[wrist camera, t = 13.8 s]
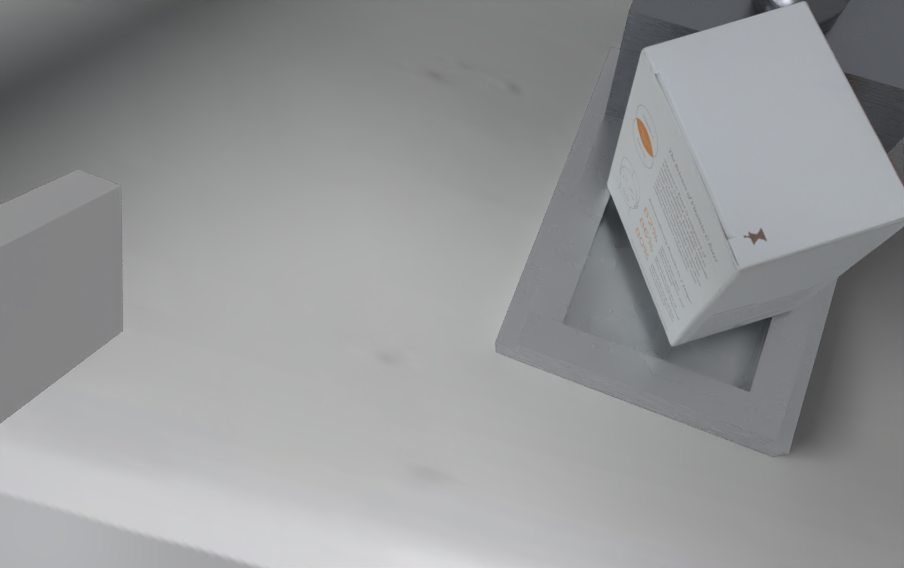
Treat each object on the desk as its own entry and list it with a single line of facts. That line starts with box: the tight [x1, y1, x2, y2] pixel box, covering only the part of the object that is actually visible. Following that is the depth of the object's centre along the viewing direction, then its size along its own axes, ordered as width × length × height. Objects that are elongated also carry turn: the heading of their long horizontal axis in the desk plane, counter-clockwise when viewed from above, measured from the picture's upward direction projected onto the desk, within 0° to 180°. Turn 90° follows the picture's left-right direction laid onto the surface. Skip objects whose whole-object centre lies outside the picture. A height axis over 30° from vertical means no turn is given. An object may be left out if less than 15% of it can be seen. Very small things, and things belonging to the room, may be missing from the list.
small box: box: [607, 1, 904, 346], centre depth 28 cm, size 8×6×10 cm
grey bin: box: [495, 0, 904, 457], centre depth 30 cm, size 14×16×12 cm
